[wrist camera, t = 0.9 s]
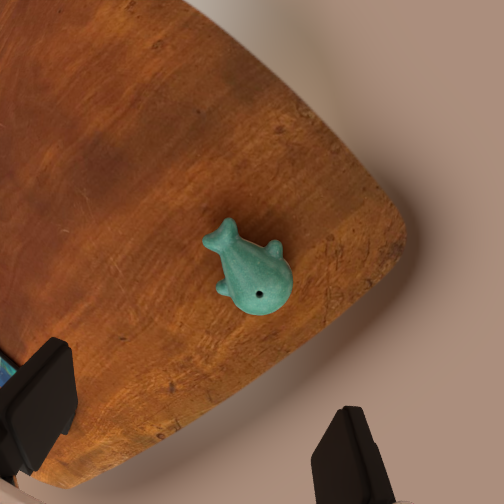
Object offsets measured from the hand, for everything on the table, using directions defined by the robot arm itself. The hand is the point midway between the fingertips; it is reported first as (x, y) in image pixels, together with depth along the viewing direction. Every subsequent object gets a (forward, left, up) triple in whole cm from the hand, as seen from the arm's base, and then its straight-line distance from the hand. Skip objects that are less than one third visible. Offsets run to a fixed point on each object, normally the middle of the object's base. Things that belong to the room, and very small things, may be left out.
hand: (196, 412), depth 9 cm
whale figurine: (-1, +1, -16) cm, 16 cm away
